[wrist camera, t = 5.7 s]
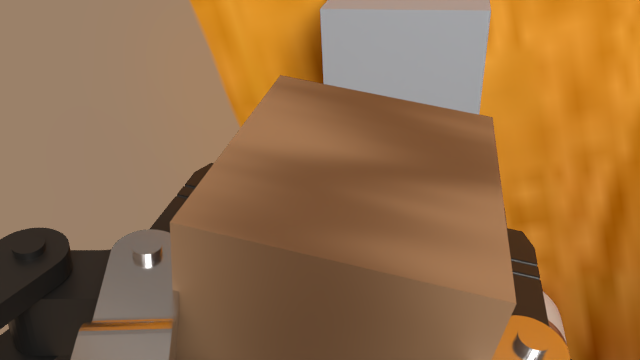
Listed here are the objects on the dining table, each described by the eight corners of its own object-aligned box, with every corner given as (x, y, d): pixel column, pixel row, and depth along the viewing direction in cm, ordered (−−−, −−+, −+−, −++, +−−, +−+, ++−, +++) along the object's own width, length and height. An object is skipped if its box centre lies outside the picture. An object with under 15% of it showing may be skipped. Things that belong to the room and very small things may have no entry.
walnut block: (492, 117, 12) (516, 303, 7) (439, 278, 15) (431, 493, 10) (280, 75, 13) (169, 222, 8) (266, 237, 16) (178, 422, 11)
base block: (487, -13, 25) (490, 10, 22) (472, 125, 29) (473, 163, 25) (338, -13, 27) (320, 8, 23) (342, 118, 30) (326, 153, 27)
